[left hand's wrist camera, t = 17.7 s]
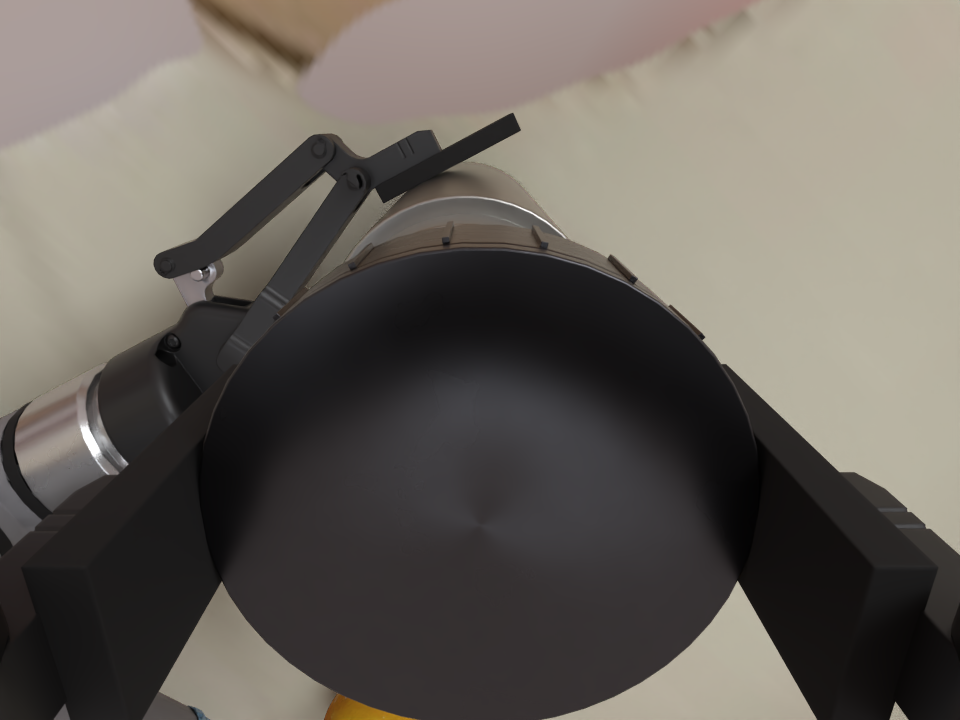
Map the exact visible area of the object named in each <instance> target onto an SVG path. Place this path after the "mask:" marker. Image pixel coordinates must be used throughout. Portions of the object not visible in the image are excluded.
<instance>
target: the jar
mask: <svg viewBox="0 0 960 720" xmlns="http://www.w3.org/2000/svg"><path fill="white" fill-rule="evenodd" d="M449 221H453V222H454V226H456V225H464V224H481V225H505V226H512V227H519V228H526V229H532V225H535V226H538V227H539V228H540V230H541V231H542V232H544V233H548V234H551V235H555V236H558V237H562V238H565V239H568V238H567V237H566V235H565V234H564V233H563V232H562V231H561V230H560V229H559V227H558V226H557V225H556V224H555V223H554V222H553V221H552V220H551V218H550V217H549V216H548V215H547V214H546V213H545V212H544V211H543V209H542V208H541V207H540V206H539V205H538V204H537V203H536V201H535V200H534V199H533V198H532V197H531V196H530V195H529V194H528V192H527V191H526V190H525V189H524V188H523V187H522V186H521V185H520V184H519V183H518V182H517V181H516V180H515V179H513V178H512V177H511V176H509V175H508V174H506V173H505V172H503V171H501V170H499V169H496V168H494V167H492V166H488V165H485V164H480V163H473V162H461V163H459V164H457V165H455V166H453V167H451V168H449V169H447V170H446V171H444V172H442V173H440V174H438V175H436V176H434V177H432V178H430V179H429V180H427V181H425V182H423V183H421V184H419V185H417V186H415V187H413V188H412V189H410V190H408V191H407V192H406V193H405V194H404V195H403V196H402V197H401V198H400V199H399V200H398V201H397V202H396V203H395V204H394V205H393V207H392V208H391V209H390V210H389V211H388V212H387V213H386V214H385V215H384V216H383V217H382V218H381V219H380V220H379V221H378V222H377V223H376V224H375V225H374V226H373V227H372V228H371V229H370V230H369V232H368V233H367V234H366V235H365V236H364V237H363V238H362V239H361V240H360V241H359V242H358V243H357V244H356V245H355V247H354V248H353V250H352V251H351V252H350V254H349V255H348V257H347V258H346V259H345V261H344V263H345V262H347V261H348V260H350V259H352V258H353V257H355V256H357V255H358V253H359V252H360V251H361V250H362V249H363V248H364V247H365V246H366V245H368V244H370V243H372V244H373V246H374V247H375V246H377V245H380V244H382V243H385V242H387V241H389V240H392V239H394V238H397V237H400V236H404V235H408V234H412V233H416V232H419V231H423V230H427V229H431V228H439V227H446V224H447V222H449ZM568 240H569V239H568Z"/></svg>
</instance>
